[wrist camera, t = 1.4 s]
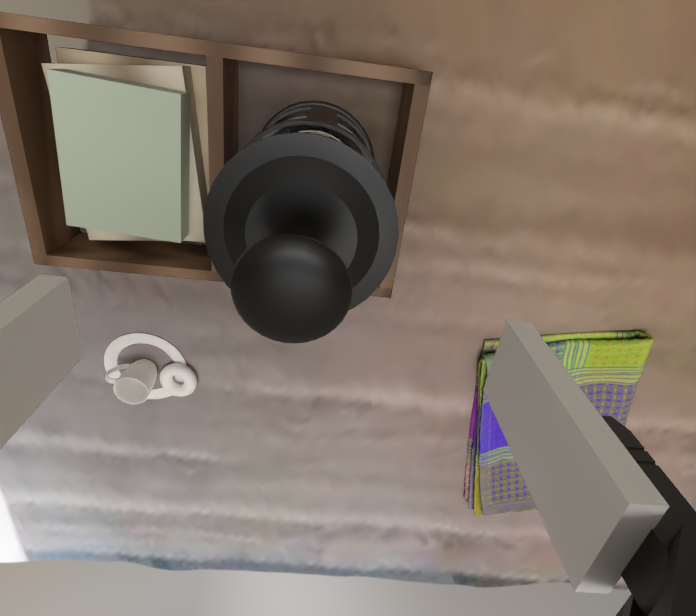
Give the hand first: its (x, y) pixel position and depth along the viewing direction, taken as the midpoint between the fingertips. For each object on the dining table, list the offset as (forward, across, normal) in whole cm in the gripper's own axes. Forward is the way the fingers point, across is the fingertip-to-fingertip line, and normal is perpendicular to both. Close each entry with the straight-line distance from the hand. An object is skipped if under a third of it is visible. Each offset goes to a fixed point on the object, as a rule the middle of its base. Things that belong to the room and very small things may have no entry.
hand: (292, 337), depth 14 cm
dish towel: (+26, +27, -25) cm, 45 cm away
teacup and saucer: (+25, -14, -24) cm, 38 cm away
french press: (+25, 0, 0) cm, 25 cm away
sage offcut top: (+22, -13, 0) cm, 25 cm away
